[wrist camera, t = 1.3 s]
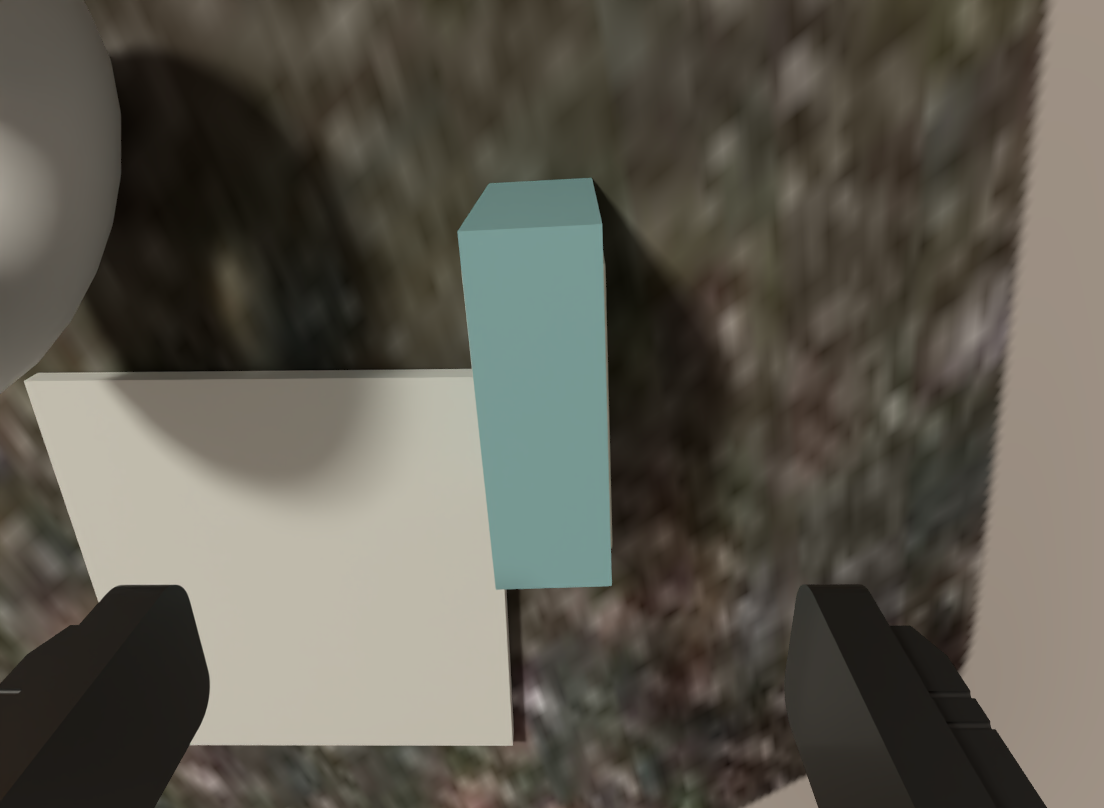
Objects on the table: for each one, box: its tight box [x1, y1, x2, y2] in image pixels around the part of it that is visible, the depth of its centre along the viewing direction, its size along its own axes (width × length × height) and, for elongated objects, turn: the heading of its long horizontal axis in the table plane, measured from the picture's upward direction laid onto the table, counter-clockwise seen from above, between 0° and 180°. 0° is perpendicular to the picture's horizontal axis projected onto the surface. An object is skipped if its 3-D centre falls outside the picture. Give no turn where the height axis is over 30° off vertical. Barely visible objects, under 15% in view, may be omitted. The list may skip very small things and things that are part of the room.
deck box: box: [458, 178, 612, 590], centre depth 18 cm, size 8×3×6 cm, turn 3°
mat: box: [24, 369, 514, 746], centre depth 24 cm, size 14×13×1 cm
